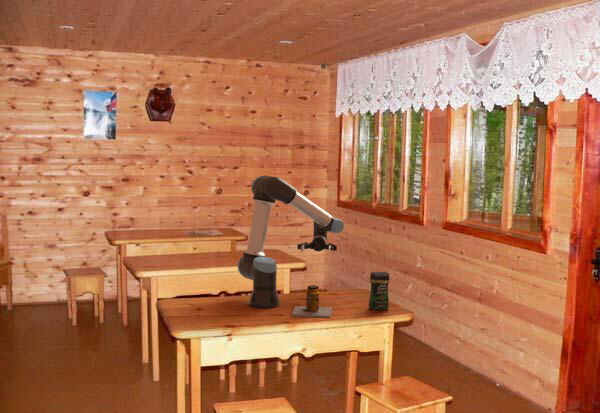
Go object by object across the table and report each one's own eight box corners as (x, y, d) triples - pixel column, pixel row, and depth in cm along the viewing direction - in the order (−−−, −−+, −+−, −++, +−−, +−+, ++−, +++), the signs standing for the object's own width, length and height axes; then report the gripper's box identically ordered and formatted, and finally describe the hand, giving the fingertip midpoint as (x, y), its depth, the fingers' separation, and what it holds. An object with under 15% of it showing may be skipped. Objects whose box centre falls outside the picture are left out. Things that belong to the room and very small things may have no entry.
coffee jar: (371, 311, 317) (372, 273, 315) (367, 307, 325) (368, 270, 323) (390, 310, 319) (391, 273, 317) (385, 306, 326) (386, 270, 325)
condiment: (322, 311, 311) (322, 286, 310) (307, 313, 306) (307, 288, 305) (314, 308, 317) (314, 283, 316) (299, 310, 313) (299, 285, 311)
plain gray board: (291, 316, 305) (291, 314, 305) (295, 308, 321) (295, 306, 321) (330, 317, 303) (330, 315, 303) (331, 309, 319) (331, 307, 319)
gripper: (342, 251, 346) (340, 257, 325) (295, 249, 348) (291, 256, 327) (342, 237, 345) (340, 242, 324) (295, 235, 348) (291, 241, 327)
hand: (315, 249), depth 326 cm, fingers open, 13 cm apart
